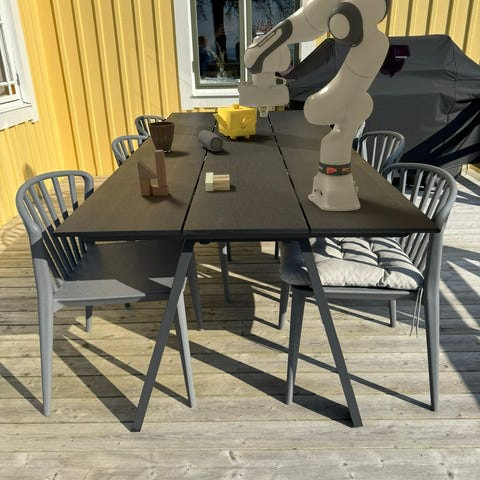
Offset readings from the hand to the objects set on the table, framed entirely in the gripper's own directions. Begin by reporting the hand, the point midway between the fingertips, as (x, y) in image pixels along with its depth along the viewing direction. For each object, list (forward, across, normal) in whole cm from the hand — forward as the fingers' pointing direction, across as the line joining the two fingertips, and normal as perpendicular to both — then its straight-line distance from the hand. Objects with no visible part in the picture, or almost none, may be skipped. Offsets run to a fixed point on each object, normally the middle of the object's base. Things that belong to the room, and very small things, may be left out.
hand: (263, 116), depth 175 cm
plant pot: (+27, -50, +71) cm, 91 cm away
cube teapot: (+27, -6, +106) cm, 109 cm away
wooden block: (+28, -46, -9) cm, 55 cm away
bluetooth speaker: (+27, -23, +72) cm, 80 cm away
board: (+28, -24, 0) cm, 37 cm away
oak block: (+28, -19, -3) cm, 34 cm away
